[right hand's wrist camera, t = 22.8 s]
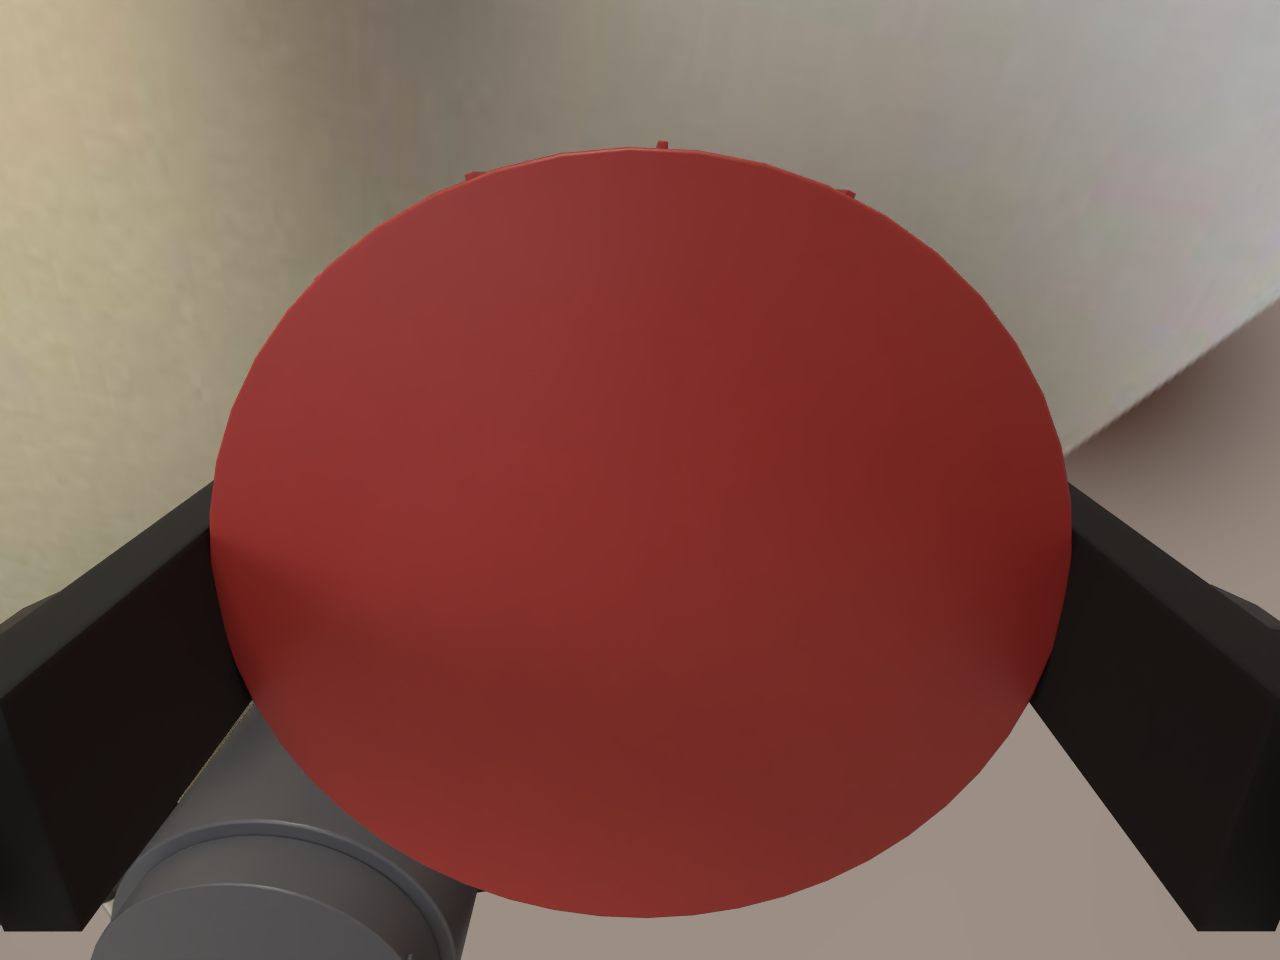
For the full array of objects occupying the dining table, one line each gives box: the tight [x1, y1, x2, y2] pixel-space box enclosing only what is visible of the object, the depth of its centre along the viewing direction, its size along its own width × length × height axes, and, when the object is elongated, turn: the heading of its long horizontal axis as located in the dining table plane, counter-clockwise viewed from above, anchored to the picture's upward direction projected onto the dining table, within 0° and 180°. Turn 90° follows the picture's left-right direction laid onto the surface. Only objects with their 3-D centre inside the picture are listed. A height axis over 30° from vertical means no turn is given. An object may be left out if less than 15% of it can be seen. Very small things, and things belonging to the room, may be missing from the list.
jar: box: [91, 704, 478, 960], centre depth 29 cm, size 10×10×16 cm
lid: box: [210, 141, 1072, 918], centre depth 11 cm, size 11×11×2 cm
